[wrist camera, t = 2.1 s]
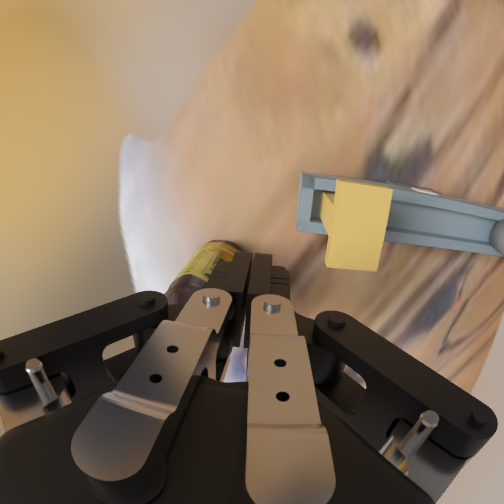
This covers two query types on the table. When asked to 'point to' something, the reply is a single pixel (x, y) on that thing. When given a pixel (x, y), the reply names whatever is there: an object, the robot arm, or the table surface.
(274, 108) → the table surface
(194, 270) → the sauce bottle
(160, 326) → the robot arm
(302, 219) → the beam
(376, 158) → the table surface
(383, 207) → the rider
